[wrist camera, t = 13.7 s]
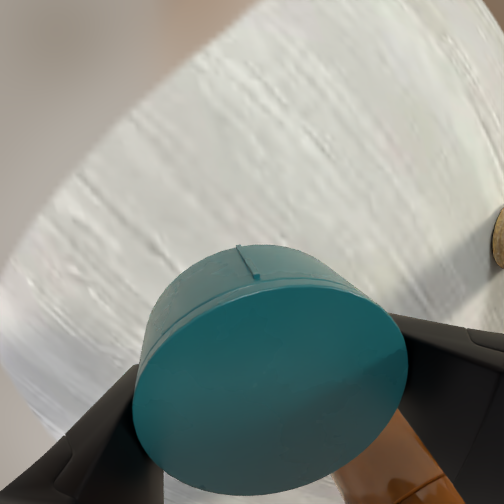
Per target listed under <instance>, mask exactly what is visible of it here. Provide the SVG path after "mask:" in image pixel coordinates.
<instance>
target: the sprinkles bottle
mask: <svg viewBox="0 0 504 504" xmlns="http://www.w3.org/2000/svg"><path fill="white" fill-rule="evenodd" d="M493 255H494V258H495V260H496V263H497V264H498V265H499V266H500V267H501V268H503V269H504V208H503V209H502V211H501V212H500V215H499V217H498V219H497V221H496V225H495V230H494V233H493Z"/></svg>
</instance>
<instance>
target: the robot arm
mask: <svg viewBox="0 0 504 504" xmlns="http://www.w3.org/2000/svg"><path fill="white" fill-rule="evenodd" d="M388 314H389V315H390V316H391V317H392V319H393V320H394V321H395V323H396V324H397V326H398V327H399V329H400V331H401V333H402V336H403V338H404V341H405V345H406V349H407V354H408V375H407V381H406V385H405V390H404V393H403V395H402V398H401V401H400V403H399V405H398V407H397V408H398V410H399V411H400V413H401V414H402V415H403V417H404V418H405V419H406V421H407V422H408V423H409V425H410V426H411V427H412V429H413V430H414V432H415V433H416V434H417V436H418V437H419V438H420V440H421V441H422V443H423V444H424V445H425V447H426V448H427V449H428V451H429V452H430V454H431V455H432V456H433V458H434V459H435V461H436V462H437V463H438V465H439V466H440V468H441V469H442V470H443V472H444V473H445V475H446V476H447V477H448V479H449V480H450V482H451V483H452V484H453V486H454V488H455V489H456V490H457V492H458V493H459V495H460V496H461V498H462V499H463V500H464V502H465V503H466V504H504V334H502V333H493V332H487V331H480V330H475V329H469V328H467V329H466V328H464V327H458V326H453V325H448V324H442V323H437V322H432V321H427V320H422V319H417V318H412V317H407V316H402V315H397V314H392V313H388ZM138 367H139V364H136V365H133V366H132V367H131V368H130V369H129V370H128V371H127V372H126V373H125V374H124V375H123V376H122V377H121V378H120V379H119V380H118V381H117V382H116V383H115V384H114V385H113V386H112V387H111V388H110V389H109V390H108V391H107V392H106V393H105V394H104V395H103V396H102V397H101V398H100V399H99V400H98V401H97V402H96V403H95V404H94V405H93V406H92V407H91V408H90V409H89V410H88V411H87V412H86V413H85V414H84V415H83V416H82V417H81V418H80V419H79V420H78V421H77V422H76V423H75V425H74V426H73V427H72V428H71V429H70V430H69V431H68V432H67V433H66V434H65V435H66V436H63V437H62V438H61V439H60V440H59V441H58V442H57V443H56V444H55V445H54V446H53V447H52V448H51V449H50V450H49V451H47V453H45V454H44V455H43V456H42V457H41V458H40V459H39V460H38V461H36V462H35V463H34V464H33V465H32V466H31V467H30V468H28V469H27V470H26V471H25V472H23V473H22V474H21V475H20V476H19V477H17V478H16V479H15V480H14V481H12V482H11V483H10V484H9V485H8V486H6V487H5V488H4V489H3V490H1V491H0V504H164V482H163V470H162V469H161V468H160V467H159V466H158V465H157V464H156V463H155V462H154V461H153V460H152V459H151V458H150V457H149V456H148V454H147V453H146V451H145V450H144V448H143V447H142V445H141V443H140V441H139V439H138V437H137V434H136V431H135V427H134V423H133V414H132V404H133V397H134V390H135V384H136V378H137V373H138Z"/></svg>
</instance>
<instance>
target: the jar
mask: <svg viewBox="0 0 504 504" xmlns="http://www.w3.org/2000/svg"><path fill="white" fill-rule="evenodd" d="M330 475H331V477H332V479H333V481H334V483H335V485H336V487H337V489H338V491H339V492H340V494H341V496H342V498H343V500H344V502H345V504H466V503H465V502H464V500H463V499H462V498H461V496H460V495H459V493H458V492H457V490H456V489H455V488H454V486H453V484H452V483H451V482H450V480H449V479H448V477H447V476H446V475H445V473H444V472H443V470H442V469H441V468H440V466H439V465H438V463H437V462H436V461H435V459H434V458H433V456H432V455H431V454H430V452H429V451H428V449H427V448H426V447H425V445H424V444H423V443H422V441H421V440H420V438H419V437H418V436H417V434H416V433H415V432H414V430H413V429H412V427H411V426H410V425H409V423H408V422H407V421H406V419H405V418H404V417H403V415H402V414H401V413H400V411H399V410H398V408H397V409H396V411H395V413H394V415H393V417H392V418H391V420H390V421H389V423H388V424H387V426H386V427H385V428H384V430H383V431H382V432H381V433H380V435H379V436H378V437H377V438H376V439H375V440H374V441H373V442H372V443H371V444H370V445H369V446H368V447H367V448H366V449H365V450H364V451H363V452H362V453H361V454H359V455H358V456H357V457H356V458H354V459H353V460H352V461H350V462H349V463H347V464H346V465H345V466H343V467H341V468H340V469H338V470H336V471H335V472H333V473H331V474H330Z"/></svg>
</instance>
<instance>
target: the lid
mask: <svg viewBox="0 0 504 504" xmlns="http://www.w3.org/2000/svg"><path fill="white" fill-rule="evenodd" d="M407 375H408V354H407V349H406V345H405V341H404V338H403V336H402V333H401V331H400V329H399V327H398V326H397V324H396V323H395V321H394V320H393V319H392V317H391V316H390V315H389V314H388V313H387V312H386V311H385V310H384V309H383V308H382V307H381V306H379V305H378V304H377V303H375V302H374V301H373V300H371V299H370V298H369V297H368V296H366V295H365V294H364V293H362V292H361V291H360V290H358V289H357V288H356V287H354V286H353V285H352V284H350V283H349V282H348V281H346V280H345V279H344V278H342V277H341V276H340V275H338V274H337V273H336V272H334V271H333V270H332V269H330V268H329V267H328V266H326V265H325V264H324V263H322V262H320V261H319V260H317V259H316V258H314V257H312V256H310V255H308V254H306V253H303V252H301V251H298V250H295V249H291V248H287V247H282V246H275V245H250V246H242V247H241V245H236V248H232V249H229V250H225V251H221V252H219V253H216V254H214V255H211V256H209V257H206V258H205V259H203V260H201V261H199V262H198V263H196V264H194V265H192V266H191V267H189V268H188V269H187V270H185V271H184V272H183V273H182V274H180V275H179V276H178V277H177V278H176V279H175V280H174V281H173V282H172V283H171V284H170V285H169V286H168V287H167V288H166V289H165V291H164V292H163V293H162V295H161V296H160V297H159V299H158V301H157V302H156V304H155V306H154V308H153V310H152V312H151V314H150V317H149V320H148V323H147V326H146V331H145V336H144V341H143V346H142V351H141V357H140V362H139V367H138V373H137V378H136V384H135V390H134V397H133V404H132V414H133V423H134V427H135V431H136V434H137V437H138V439H139V441H140V443H141V445H142V447H143V448H144V450H145V451H146V453H147V454H148V456H149V457H150V458H151V459H152V460H153V461H154V462H155V463H156V464H157V465H158V466H159V467H160V468H161V469H162V470H164V471H165V472H166V473H168V474H169V475H170V476H172V477H174V478H176V479H177V480H179V481H181V482H183V483H185V484H188V485H190V486H192V487H195V488H198V489H201V490H204V491H208V492H213V493H218V494H225V495H235V496H254V495H266V494H272V493H279V492H283V491H287V490H291V489H295V488H298V487H301V486H304V485H307V484H309V483H312V482H314V481H317V480H319V479H321V478H323V477H325V476H327V475H329V474H331V473H333V472H335V471H336V470H338V469H340V468H341V467H343V466H345V465H346V464H347V463H349V462H350V461H352V460H353V459H354V458H356V457H357V456H358V455H359V454H361V453H362V452H363V451H364V450H365V449H366V448H367V447H368V446H369V445H370V444H371V443H372V442H373V441H374V440H375V439H376V438H377V437H378V436H379V435H380V433H381V432H382V431H383V430H384V428H385V427H386V426H387V424H388V423H389V421H390V420H391V418H392V417H393V415H394V413H395V411H396V409H397V407H398V405H399V403H400V401H401V398H402V395H403V393H404V390H405V385H406V381H407Z"/></svg>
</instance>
